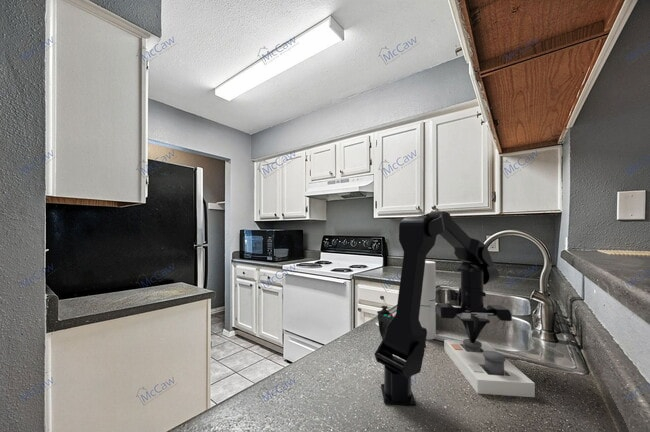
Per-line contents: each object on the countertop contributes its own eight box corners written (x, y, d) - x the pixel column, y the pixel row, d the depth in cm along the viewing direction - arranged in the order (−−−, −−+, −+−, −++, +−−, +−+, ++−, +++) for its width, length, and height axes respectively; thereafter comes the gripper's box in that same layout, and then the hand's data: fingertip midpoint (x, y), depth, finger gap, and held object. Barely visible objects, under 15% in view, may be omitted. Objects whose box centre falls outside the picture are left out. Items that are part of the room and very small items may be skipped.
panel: (534, 397, 61) (534, 382, 61) (477, 393, 62) (477, 378, 62) (485, 352, 83) (485, 341, 83) (444, 349, 84) (444, 339, 84)
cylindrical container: (440, 337, 93) (440, 262, 94) (423, 340, 91) (423, 263, 91) (425, 330, 100) (425, 260, 101) (408, 332, 97) (409, 260, 98)
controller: (387, 333, 97) (387, 303, 97) (402, 348, 85) (402, 315, 85) (375, 333, 96) (375, 304, 97) (388, 349, 84) (388, 315, 84)
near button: (509, 380, 64) (509, 360, 64) (488, 378, 64) (488, 358, 65) (499, 369, 69) (499, 351, 69) (479, 368, 69) (479, 350, 69)
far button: (484, 362, 76) (484, 346, 76) (467, 361, 76) (467, 345, 77) (477, 355, 81) (477, 339, 81) (460, 354, 81) (460, 338, 81)
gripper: (491, 282, 86) (492, 333, 86) (429, 280, 88) (429, 330, 87) (512, 290, 75) (513, 348, 75) (441, 287, 77) (441, 345, 76)
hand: (472, 342), depth 79 cm, fingers closed, pressing on far button
